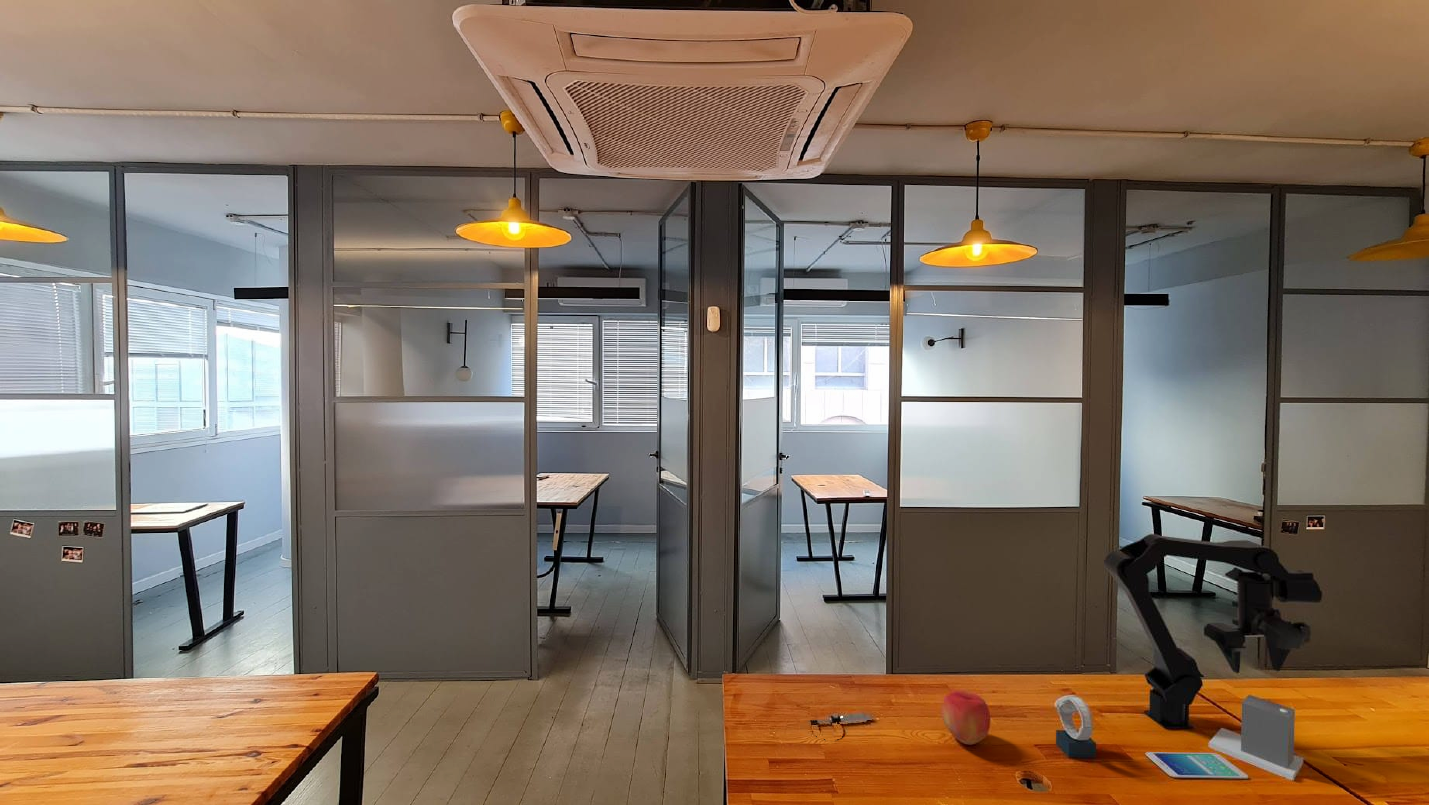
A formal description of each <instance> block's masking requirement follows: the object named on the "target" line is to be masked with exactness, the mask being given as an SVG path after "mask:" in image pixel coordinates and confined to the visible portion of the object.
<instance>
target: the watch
mask: <svg viewBox="0 0 1429 805" xmlns="http://www.w3.org/2000/svg"><path fill="white" fill-rule="evenodd" d="M1054 706H1055V707H1056V710H1057V714H1058V716H1059V717H1060V721H1061V724H1062V727H1063V728H1064V729H1056V730H1055V746H1057V747H1058V749H1059V750H1060V751H1061V752H1062V753H1063V754H1064V755H1065V756H1066V757H1067V758H1068V759H1096V757H1097V742H1096V741H1095V740H1093V738H1092V734H1093V731H1094V725H1093V724H1094V722H1093V717H1092V714H1091V710H1090V708H1089V706H1088V705H1087V702H1085V701H1084V699H1082V698H1081V697H1078V696H1077V695H1075V694H1074V695H1073V694H1069V695H1063V696H1062V697H1059V698H1058V699H1057V700H1056V701H1055V702H1054ZM1076 712H1078V714H1079V716H1080V720H1081V726H1080V727H1079V729H1077V728H1076V726H1075V724H1074V721H1073V717H1072V716H1074V715H1075V714H1076Z"/></svg>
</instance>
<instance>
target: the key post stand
mask: <svg viewBox="0 0 1429 805" xmlns="http://www.w3.org/2000/svg"><path fill="white" fill-rule="evenodd" d="M1208 748H1210V749H1212V750H1215V751H1217V752H1220V753H1221V754H1222V753H1223V754H1225V755H1226V756H1227V755H1228V756H1230V757H1232V758H1235V759H1237V760H1240V761H1242V762H1245V763H1248V764H1250V765H1253V767H1257V768H1259V769H1262V770H1265V771H1267V772H1270V773H1272V774H1275V775H1277V776H1280V777H1282V778H1284V777H1285V778H1284V779H1287V780H1290V781H1292V780H1293V781H1294V780H1295V778H1296V776H1297V775H1298V774H1299V771H1300V770H1301V768H1302V766H1303V764H1304V757H1302V756H1298V755H1297V754H1294V760H1293V761H1292V763H1291V764H1290V766H1289V768H1288V769H1286V768H1284V767H1281V766H1279V765H1276V764H1274V763H1271V762H1268V761H1266V760H1263V759H1261V758H1258V757H1256V756H1253V755H1251V754H1248V753H1245V752H1243V751H1241V734H1240V733H1236V732H1234V731H1232V730H1229V729H1226V728H1223V727H1221V728H1220V729H1219V730H1218V732H1216V734H1215V735H1214V736H1213V737H1212V738H1211V739H1210V740H1209V742H1208Z"/></svg>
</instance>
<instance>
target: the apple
mask: <svg viewBox="0 0 1429 805" xmlns="http://www.w3.org/2000/svg"><path fill="white" fill-rule="evenodd" d="M941 703H942V704H941V717H942V721H943V724H944V726H945V727H946V729H947V731H948V732H949V733H950V734H951V735H952V736H953V737H954V738H955V739H956V740H958V741H959V742H960V743H962V744H965V745H970V746H971V745H972V746H973V745H974V744H977V743H979V742H980V741H983V739H985V738H986V736H987V735H988V734H989V731H990V726H991V713H990V710H989V706H988V704H987V702H986V701H985V700H984V698H982V697H981V696H980V695H978V694H976V693H974V692H973V693H972V692H969V691H965V690H960V689H959V690H953V691H950V692H948V693H947V694H946V695H945V696H944V698H943V700H942V702H941Z"/></svg>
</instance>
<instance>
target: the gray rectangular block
mask: <svg viewBox="0 0 1429 805" xmlns="http://www.w3.org/2000/svg"><path fill="white" fill-rule="evenodd" d="M1295 716H1296V709H1295V708H1290V707H1288V706H1284V705H1282V704H1279V703H1275V702H1273V701H1270V700H1268V699H1267V700H1266V699H1264V698H1260V697H1257V696H1255V695H1251V694H1248V695H1247V696H1246V697H1245V698H1244V700H1243V701H1241V727H1240V728H1241V729H1240V732H1241V734H1240V735H1241V751H1243V752H1245V753H1248V754H1251V755H1253V756H1256V757H1258V758H1261V759H1263V760H1266V761H1268V762H1271V763H1274V764H1276V765H1279V766H1281V767H1284V768H1286V769H1288V768H1289V766H1290V764H1291V763H1292V761H1293V760H1294V755H1295V727H1296V726H1295V724H1296V723H1295V722H1296V721H1295V720H1296V717H1295Z"/></svg>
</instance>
